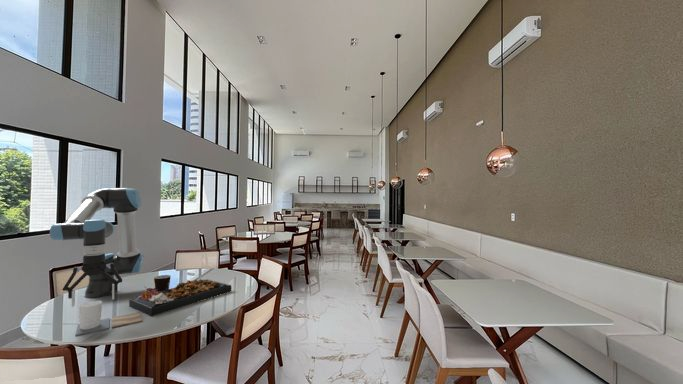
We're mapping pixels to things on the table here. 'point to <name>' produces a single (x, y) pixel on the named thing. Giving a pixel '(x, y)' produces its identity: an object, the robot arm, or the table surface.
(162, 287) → the coffee mug
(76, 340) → the table surface
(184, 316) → the table surface
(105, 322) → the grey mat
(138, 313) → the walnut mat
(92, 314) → the white cup
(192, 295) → the food platter
